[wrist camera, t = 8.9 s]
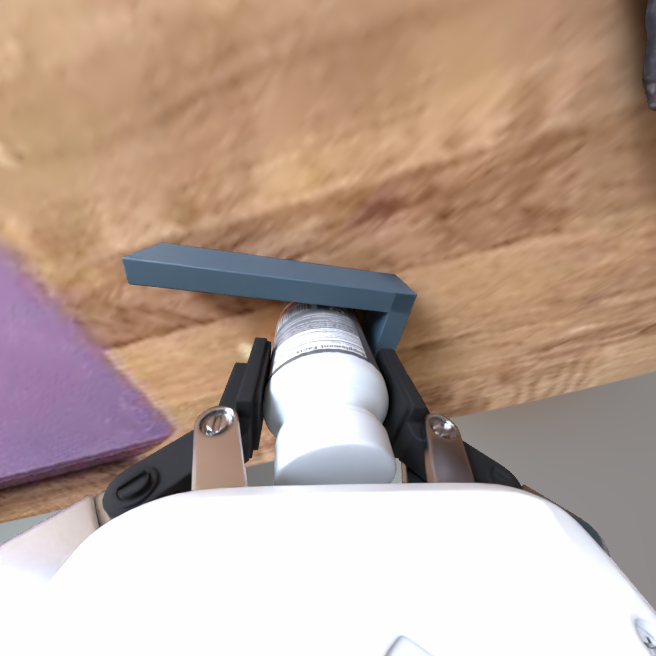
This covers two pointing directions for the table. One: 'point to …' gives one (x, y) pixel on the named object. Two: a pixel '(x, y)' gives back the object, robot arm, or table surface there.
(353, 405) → the pill bottle
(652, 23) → the geode
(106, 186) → the table surface
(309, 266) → the corner
